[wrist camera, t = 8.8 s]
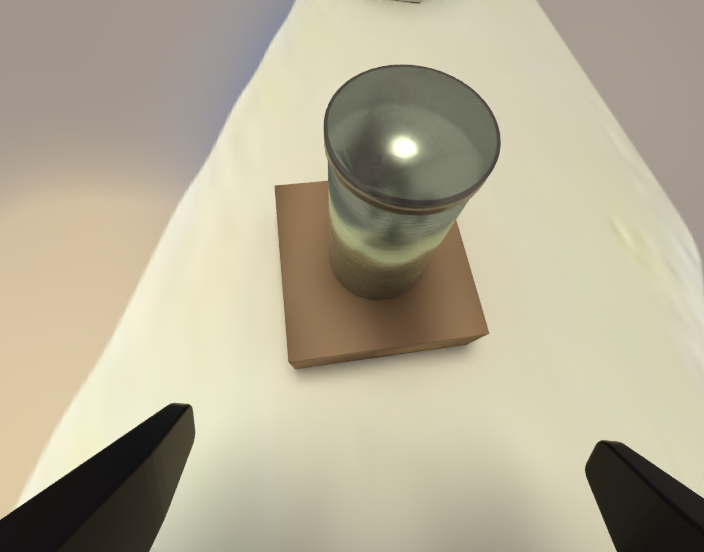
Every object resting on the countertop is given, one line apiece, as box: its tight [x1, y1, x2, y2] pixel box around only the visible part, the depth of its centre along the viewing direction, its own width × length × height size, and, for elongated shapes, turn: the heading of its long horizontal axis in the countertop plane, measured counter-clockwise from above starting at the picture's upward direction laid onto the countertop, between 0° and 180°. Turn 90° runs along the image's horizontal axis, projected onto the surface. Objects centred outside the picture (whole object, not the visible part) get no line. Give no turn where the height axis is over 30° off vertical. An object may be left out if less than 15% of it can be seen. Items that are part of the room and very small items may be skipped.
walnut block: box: [275, 181, 489, 369], centre depth 20 cm, size 10×10×3 cm
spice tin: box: [324, 65, 501, 300], centre depth 14 cm, size 5×5×9 cm
